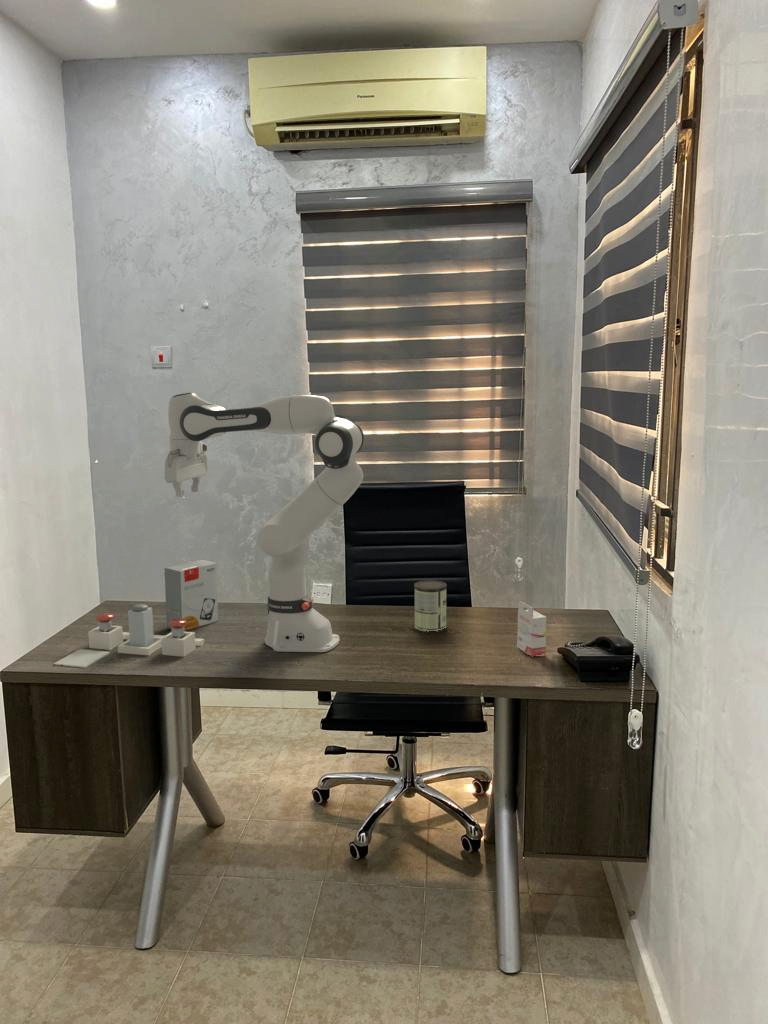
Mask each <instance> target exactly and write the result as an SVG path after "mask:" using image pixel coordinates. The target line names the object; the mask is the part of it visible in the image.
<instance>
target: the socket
mask: <svg viewBox="0 0 768 1024" xmlns="http://www.w3.org/2000/svg"><path fill="white" fill-rule="evenodd" d="M164 636H165V635H163V634H162V635H161V634H154V643H153V644H152V645H150V646H149V647H136V646H130V637H129V631H128V632H127V631H126V632H125V631H123V640H126V641H123V643H121V644H120V645H118V646H117V654H126V655H127V654H129V655H139V656H151V655H152V654H154V653H155V652H156V651H158V650H160V649H162V640H161V638H163V637H164ZM204 644H205V639H204V638H199V637H198V638H196V637H195V645H196V647H202V646H203V645H204Z"/></svg>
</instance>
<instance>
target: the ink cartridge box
mask: <svg viewBox="0 0 768 1024" xmlns="http://www.w3.org/2000/svg"><path fill="white" fill-rule="evenodd" d="M518 602H519V603H518V611H517V638H516V648H517V647H518V648H520V649H521V650H523V651H525V652H526V653H528V654H530V655H531V656H536V655H542V654H545V655H546V650H547V649H546V648H547V647H546V645H547V616H546V615H544V614H541V613H540V612H538V611H536V610H534V607H532V606H531V605H528V604H527V603H524V602H522V601H521V600H520V601H518Z"/></svg>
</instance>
